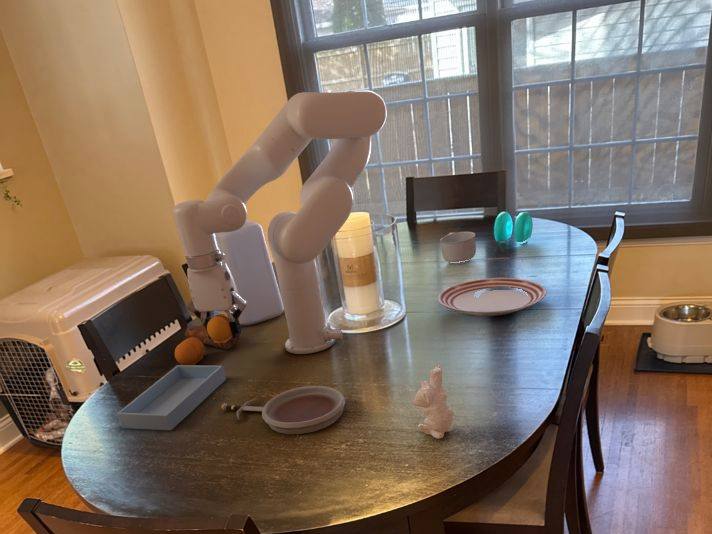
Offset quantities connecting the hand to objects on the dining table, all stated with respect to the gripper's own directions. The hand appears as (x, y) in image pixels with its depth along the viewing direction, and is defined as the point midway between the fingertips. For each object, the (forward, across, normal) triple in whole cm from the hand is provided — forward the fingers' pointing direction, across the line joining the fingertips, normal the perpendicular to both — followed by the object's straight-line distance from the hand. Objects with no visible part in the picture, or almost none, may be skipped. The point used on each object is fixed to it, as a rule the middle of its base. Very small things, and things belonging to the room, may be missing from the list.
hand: (225, 335), depth 159 cm
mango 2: (+1, 0, 0) cm, 1 cm away
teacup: (+10, -40, -80) cm, 89 cm away
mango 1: (+8, +12, -2) cm, 15 cm away
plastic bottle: (+8, +10, -34) cm, 36 cm away
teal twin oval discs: (+10, -54, -96) cm, 111 cm away
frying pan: (+8, -24, +23) cm, 34 cm away
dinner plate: (+9, -56, -39) cm, 69 cm away
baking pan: (+7, +4, +20) cm, 22 cm away
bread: (+8, +14, -13) cm, 20 cm away
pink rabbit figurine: (+8, -58, +28) cm, 65 cm away
